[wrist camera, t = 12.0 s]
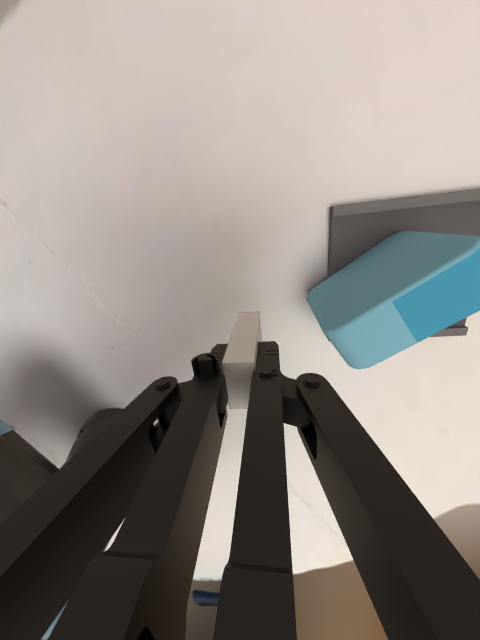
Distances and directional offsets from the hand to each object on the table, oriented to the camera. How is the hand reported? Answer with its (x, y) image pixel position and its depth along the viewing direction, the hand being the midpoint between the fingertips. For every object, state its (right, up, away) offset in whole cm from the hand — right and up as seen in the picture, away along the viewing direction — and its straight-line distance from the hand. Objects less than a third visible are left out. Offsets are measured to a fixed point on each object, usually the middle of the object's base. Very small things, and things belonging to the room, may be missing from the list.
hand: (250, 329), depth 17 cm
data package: (+13, +6, +11) cm, 18 cm away
